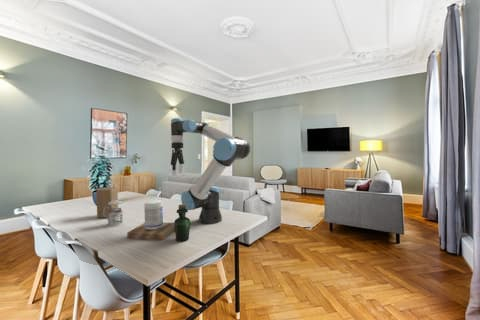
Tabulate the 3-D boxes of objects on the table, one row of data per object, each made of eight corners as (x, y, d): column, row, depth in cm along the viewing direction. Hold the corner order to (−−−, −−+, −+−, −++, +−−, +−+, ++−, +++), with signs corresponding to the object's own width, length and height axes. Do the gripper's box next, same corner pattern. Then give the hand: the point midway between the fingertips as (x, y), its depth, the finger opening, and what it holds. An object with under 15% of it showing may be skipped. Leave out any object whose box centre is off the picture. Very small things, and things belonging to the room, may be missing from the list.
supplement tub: (164, 228, 121) (164, 202, 120) (146, 231, 115) (146, 204, 115) (160, 223, 129) (160, 199, 128) (143, 226, 123) (142, 201, 123)
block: (104, 214, 158) (103, 187, 158) (118, 214, 159) (118, 187, 158) (96, 218, 148) (95, 189, 148) (111, 218, 149) (111, 189, 148)
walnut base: (177, 228, 130) (177, 223, 130) (162, 240, 112) (162, 234, 112) (146, 226, 132) (145, 221, 132) (127, 238, 114) (127, 232, 114)
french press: (126, 224, 137) (126, 185, 136) (106, 229, 128) (105, 187, 127) (121, 220, 143) (120, 183, 142) (101, 225, 135) (100, 185, 134)
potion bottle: (190, 241, 110) (190, 206, 109) (174, 243, 108) (173, 207, 107) (189, 235, 118) (189, 203, 117) (174, 237, 116) (173, 204, 115)
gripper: (177, 143, 155) (178, 172, 156) (164, 141, 130) (165, 176, 131) (188, 143, 155) (188, 172, 156) (176, 141, 130) (177, 176, 131)
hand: (178, 174), depth 143 cm, fingers open, 13 cm apart
